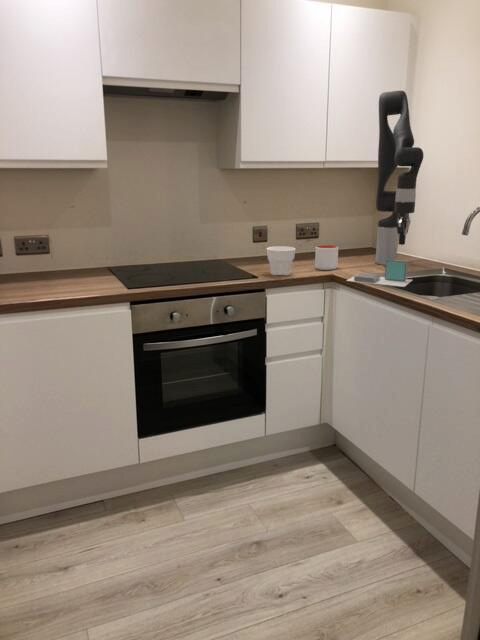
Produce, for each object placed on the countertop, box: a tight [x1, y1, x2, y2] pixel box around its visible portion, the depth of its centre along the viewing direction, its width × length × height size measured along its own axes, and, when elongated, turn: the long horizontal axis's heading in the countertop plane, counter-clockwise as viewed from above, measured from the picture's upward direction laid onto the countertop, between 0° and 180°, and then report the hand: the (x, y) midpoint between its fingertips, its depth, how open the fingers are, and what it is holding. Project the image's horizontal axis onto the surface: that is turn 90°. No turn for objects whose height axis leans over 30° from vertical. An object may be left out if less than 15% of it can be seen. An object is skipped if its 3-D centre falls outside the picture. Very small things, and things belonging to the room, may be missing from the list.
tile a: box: [354, 272, 381, 284], centre depth 206 cm, size 2×8×8 cm
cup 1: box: [266, 245, 296, 276], centre depth 221 cm, size 12×12×11 cm
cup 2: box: [314, 244, 339, 271], centre depth 231 cm, size 10×10×10 cm
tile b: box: [384, 259, 408, 282], centre depth 205 cm, size 2×8×8 cm, turn 60°
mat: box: [345, 274, 413, 288], centre depth 206 cm, size 14×23×1 cm, turn 59°
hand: (401, 244), depth 208 cm, fingers closed
